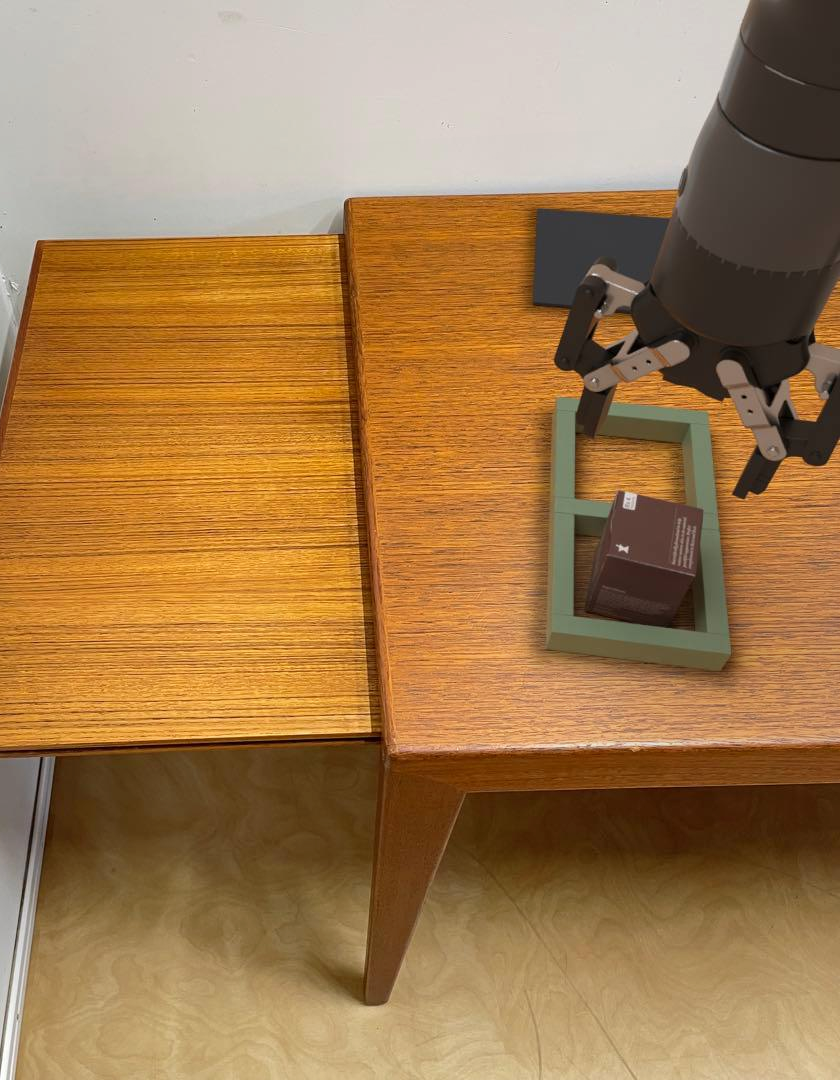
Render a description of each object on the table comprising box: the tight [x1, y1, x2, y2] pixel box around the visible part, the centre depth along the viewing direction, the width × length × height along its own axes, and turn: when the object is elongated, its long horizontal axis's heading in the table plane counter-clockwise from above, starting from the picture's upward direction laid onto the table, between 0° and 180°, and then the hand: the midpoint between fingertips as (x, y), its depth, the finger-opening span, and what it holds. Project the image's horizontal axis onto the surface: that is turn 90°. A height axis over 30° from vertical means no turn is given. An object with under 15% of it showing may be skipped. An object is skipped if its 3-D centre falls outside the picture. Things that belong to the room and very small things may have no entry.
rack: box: [545, 396, 732, 672], centre depth 75 cm, size 22×12×2 cm, turn 170°
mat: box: [532, 208, 671, 315], centre depth 94 cm, size 14×14×1 cm
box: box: [584, 490, 703, 628], centre depth 70 cm, size 6×6×7 cm
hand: (665, 456), depth 55 cm, fingers open, 8 cm apart
